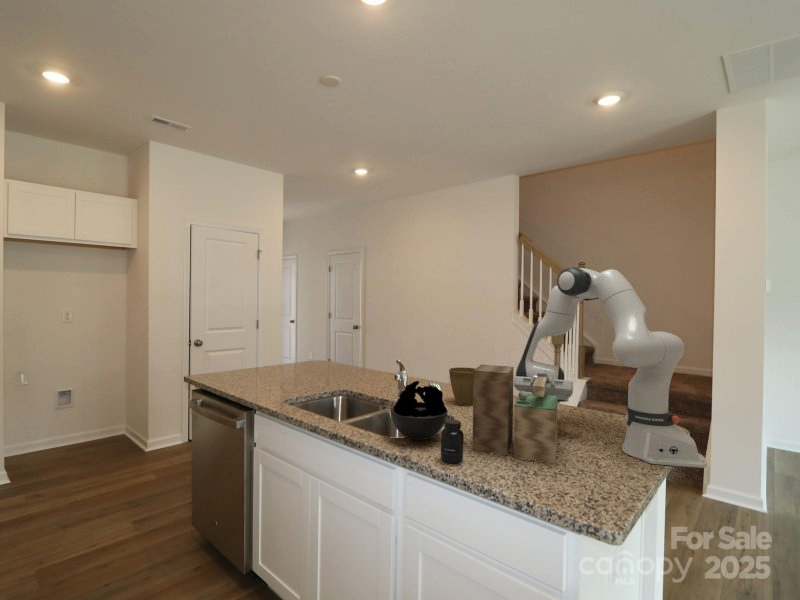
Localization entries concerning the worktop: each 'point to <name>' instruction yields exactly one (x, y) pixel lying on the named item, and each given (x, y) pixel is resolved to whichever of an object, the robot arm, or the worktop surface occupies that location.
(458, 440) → the supplement bottle
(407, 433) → the bowl of black rocks
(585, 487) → the worktop surface
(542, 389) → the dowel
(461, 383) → the plant pot
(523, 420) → the green topped wooden block
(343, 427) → the worktop surface
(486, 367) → the walnut stand
